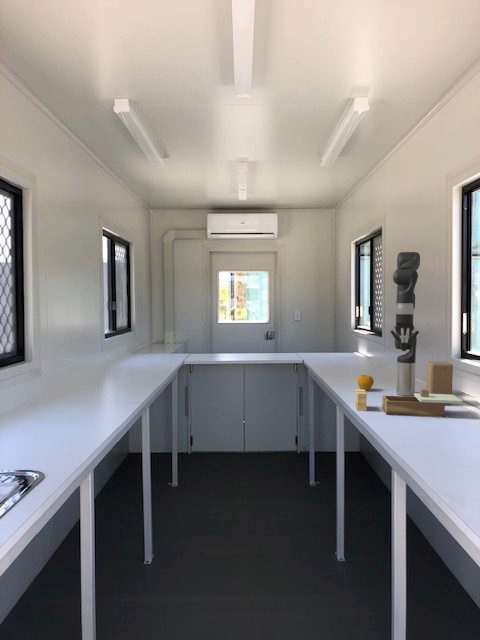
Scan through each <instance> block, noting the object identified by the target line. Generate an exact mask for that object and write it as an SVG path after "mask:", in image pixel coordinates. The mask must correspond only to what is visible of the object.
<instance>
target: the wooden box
mask: <svg viewBox="0 0 480 640" xmlns="http://www.w3.org/2000/svg"><path fill="white" fill-rule="evenodd" d="M381 400H382V402H381V403H382V405H381V407H382V410H383V412H384V413H385V415H387V416H403V417H404V416H407V417H428V418H429V417H430V418H445V415H446V414H445V409H446V405H445V403H430V402H420V401H419V400H418V399H417V398H416V397H415V396H404V395H382V399H381Z"/></svg>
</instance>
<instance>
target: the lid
mask: <svg viewBox="0 0 480 640" xmlns="http://www.w3.org/2000/svg"><path fill="white" fill-rule="evenodd" d="M413 397H416V398H417V399H418V400H419V401H420V402H430V403H452V404H454V405H455V404H459V405H461V404H463V400H462V399H460V398H459V397H458V396H456V395H455V394H452V395H450V394H429V390H428V389H425V388H424V389H423V388H420V389H419V393H418V392H417V393H416V392H415V393H414V395H413Z"/></svg>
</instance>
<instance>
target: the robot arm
mask: <svg viewBox="0 0 480 640" xmlns="http://www.w3.org/2000/svg"><path fill="white" fill-rule="evenodd" d="M396 261H397V262H396V269H395V271H393V275H392V281H393V282H394V284H396V285H397V287H396V303H395V304H396V305H395V306H396V307H395V326H394V328H393V329H391V330H389V333H390V334H391V335H392V337H393V338H394V348H395V349H397V350H401V351H402V352H406V353H405V354H401V355H399V356H397V358H396V394H397V396H411V397H414V393H416V363H417V362H416V361H417V360H416V356H417V354H416V353H417V344H418V343H417V342H418V341H417V336H418V334H420V332H419V330H417V329H415V326H414V312H415V309H416V294H415V288H416V284H417V282H418V278H419V273H418V269H419V267H420V265H421V255H420V253H419V252H416V251H400V252H398V254H397V258H396ZM407 351H408V352H407Z"/></svg>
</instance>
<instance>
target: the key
mask: <svg viewBox="0 0 480 640" xmlns="http://www.w3.org/2000/svg"><path fill="white" fill-rule="evenodd" d="M367 396H368V394H367V391H365V390H361V389H360V388H359V389H355V405H354V406H355V409H356V411H358V412H361V411H362V412H367V403H368V402H367V399H368V398H367Z"/></svg>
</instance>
